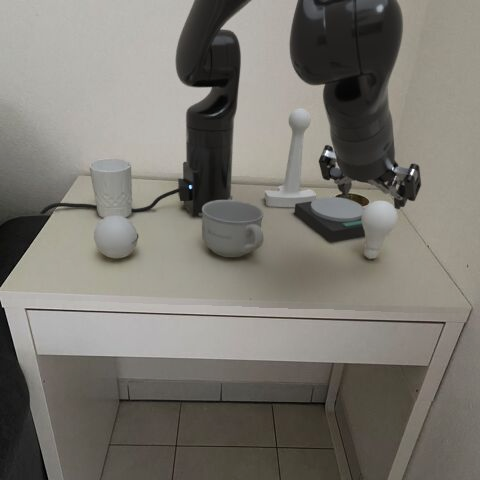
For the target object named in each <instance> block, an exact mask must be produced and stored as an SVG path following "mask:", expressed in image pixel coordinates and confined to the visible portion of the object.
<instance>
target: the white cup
mask: <svg viewBox="0 0 480 480" xmlns="http://www.w3.org/2000/svg"><path fill="white" fill-rule="evenodd" d="M88 167H89V168H88V169H89V173H90V178H91V185H92V189H93V190H92V191H93V193H94V195H93V196H94V200H95V203H96V204H95V205H97V209H96V211H97V214H98V216H99V217H101V218H102V219H103V218H105V217H108V216H112V215H117V216H122V217H125V218H126V219H127V218H128V217H129V216H131V215H132V213H133V212H132V209H133V208H132V205H133V204H132V202H133V183H132V182H133V179H132V164H131V162H130V161H128V160H126V159H123V158H117V157H115V158H114V157H107V158H99V159H95V160H93V161H91V162H90V163H89V164H88Z"/></svg>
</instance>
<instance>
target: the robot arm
mask: <svg viewBox="0 0 480 480" xmlns="http://www.w3.org/2000/svg"><path fill="white" fill-rule="evenodd" d="M252 1H253V0H193V3H192V5H191V8H190V10H189V13H188V15H187V17H186V19H185V22H184V24H183V27H182V29H181V32H180V35H179V38H178V40H177V45H176V49H175V62H174V63H175V71H176V75H177V77H178V79H179V81H180V82H181V84H183V85H184V86H185V87H188V88H194V89H195V88H197V89H203V88H210V91H209V93H207V95H206V96H205V97H204V98H202V99H201V100H199V101H198V102H196V103H193V104H192V105H190V106H189V107H188V108H187V109H186V112H185V153H186V155H185V158H186V161H183V163H182V178H178V179H177V186H178V188H176V189H172V190H170V191H167V192H165V193H163V194H161V195H159V196H157V197H156V198H155V199H154V200H153V201H152V202H151V203H150V204H149V205H147V206H144V207H140V208H139V207H138V208H132V212H131V213H141V212H142V213H143V212H146V211H150V210H151V209H153V208H154V207H155V206H156V205H157V204H158V203H159V202H160V201H161V200H163V199H165V198H167V197H170V196H172V195H176V194H178V197H179V198H178V199H179V202H183V207H184V208H185V209H186V211H187V212H188V213H189V214H190V215H191V217H193V218H196V217H200V218H201V217H202V214H203V212H202V207H203V205H205V204H206V203H208V202H211V201H216V200H233V195H232V175H233V174H232V173H233V172H232V171H233V153H234V152H233V150H234V149H233V148H234V127H235V118H236V114H237V110H238V99H239V88H240V78H241V68H242V52H241V45H240V41H239V38H238V36H237V34H235V32H234V31H232V30H230V29H223V27H224V25H225V24H227V22H229V21H230V20H231V19H232V18H233V17H234V16H235V15H237V14H238V13H239V12H241V10H243V9H244V8H245V7H246V6H247V5H248V4H249V3H251V2H252ZM403 17H404V16H403V12H402V8H401V5H400V3H399V2H398V0H297V2H296V6H295V9H294V13H293V17H292V22H291V28H290V33H289V57H290V62H291V66H292V68H293V71H294V72H295V74H296V75H297V76H298V78H299V79H300V80H301V81H302V82H303V83H305V84H306V85H309V86H312V87H313V86H322V85H323V89H322V103H323V106H324V110H325V114H326V118H327V122H328V125H329V135H330V140H331V145H332V146H331V145H329V144H325V145H324V148H323V150H322V151H321V154H320V156H319V158H318V166H319V168H320V169H319V170H320V173H321V178H322V179H323V180H325V181H331V180H333V183H334V184H335V185H337V188H338V191H339V192H340V193H341V195H342V196H343V197H348V195H349V194H350V191H351V189H352V186H353V182H355V181H356V182H359V183H363V184H364V183H366V184H369V185H370V186H374V187H376V188H377V189H378V190H379V191H381V193H383V194H385V195H388V194H390V195H391V196H392V197H393V204H394V205H393V206H394V208H395V209H396V210H400V209H401V208H405V206H406V204H407V202H408V201H410V202H415V201H416V199H417V196H418V195H419V192H420V189H421V187H422V178H421V169H420V165H419V164H418V163H411V164H410V165H409V167H408V168H407V167H402V166H399V163H398V162H397V161H396V160H395V157H396V149H395V138H394V137H395V136H394V123H393V116H392V114H391V110H390V101H389V84H390V79H391V77H392V75H393V71H394V68H395V66H396V63H397V61H398V56H399V53H400V50H401V45H402V41H403V33H404V18H403ZM336 164H337V165H336ZM336 166H337V167H336ZM397 185H398V188H397ZM59 207H60V208H61V207H63V208H65V207H67V208H86V209H87V208H88V209H92V210H93V209H94V210H97V204H91V203H74V202H73V203H72V202H55V203H52V204H49V205H47V206H45V207H44V208H42V210H41V211H40V212H39V214H40V215H45V214H46V213H47V212H48V211H50V210H51V209H55V208H59Z"/></svg>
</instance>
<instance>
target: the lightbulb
mask: <svg viewBox="0 0 480 480" xmlns="http://www.w3.org/2000/svg"><path fill="white" fill-rule="evenodd" d="M364 208H365V209H364V211H363V213H362V217H361V221H362V225H363V228H364V231H365V236H364V252H363V255H364V256H365V257H366V258H367V259H369V260H373V259H376V258H378V257H379V254H380V250H381V248H382V247H383V245H384V242H385V239H386V238H387V237H388V235H390V233H391V232H392V231H393V230H394V229H395V228H396V225H397V223H398V220H399V219H398V218H399V217H398V211H397V209H396V208H395V206H394V205H393V204H392V203H390V202H389V201H387V200H382V199H381V200H375V201H372V202H370V203H369V204H368V205H366V207H364Z"/></svg>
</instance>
